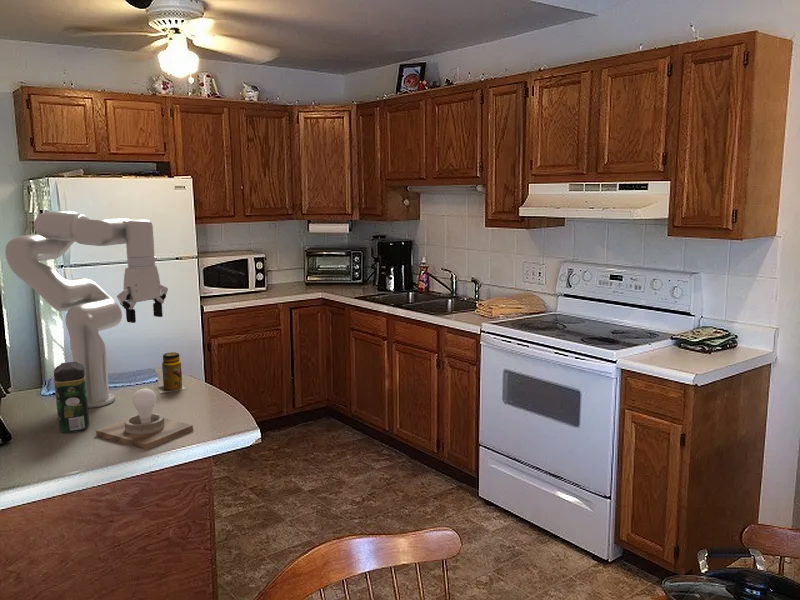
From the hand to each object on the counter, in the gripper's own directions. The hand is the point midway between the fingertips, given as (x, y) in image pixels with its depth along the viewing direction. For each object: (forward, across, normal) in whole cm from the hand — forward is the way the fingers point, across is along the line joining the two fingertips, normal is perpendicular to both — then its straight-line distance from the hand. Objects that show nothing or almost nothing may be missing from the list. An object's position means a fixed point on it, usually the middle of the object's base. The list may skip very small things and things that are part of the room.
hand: (145, 319), depth 200 cm
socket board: (+28, +14, +14) cm, 34 cm away
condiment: (+28, -18, -12) cm, 36 cm away
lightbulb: (+27, +13, +14) cm, 33 cm away
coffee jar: (+28, +21, -7) cm, 36 cm away
